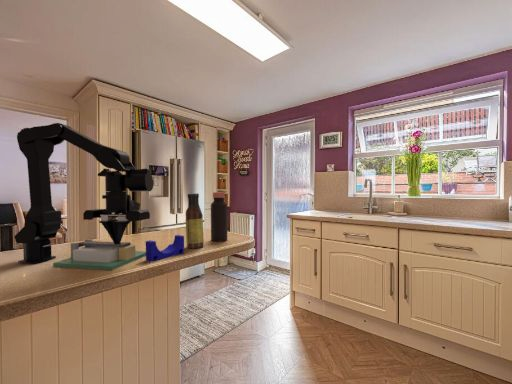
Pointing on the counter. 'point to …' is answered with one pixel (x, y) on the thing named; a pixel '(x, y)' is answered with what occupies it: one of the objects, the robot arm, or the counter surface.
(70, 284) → the counter surface
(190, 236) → the sauce bottle
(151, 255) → the blue cradle block
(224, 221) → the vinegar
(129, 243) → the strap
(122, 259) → the board
